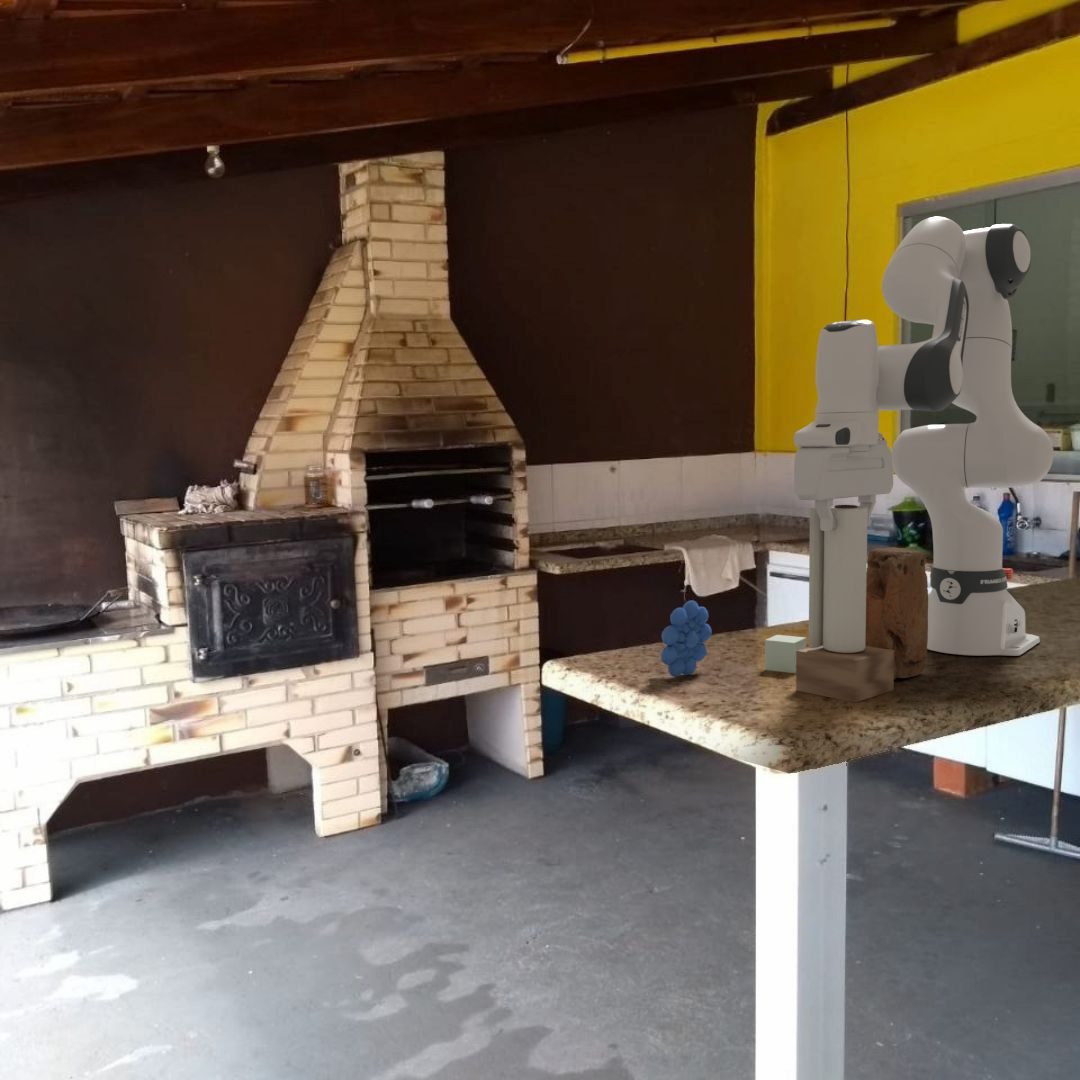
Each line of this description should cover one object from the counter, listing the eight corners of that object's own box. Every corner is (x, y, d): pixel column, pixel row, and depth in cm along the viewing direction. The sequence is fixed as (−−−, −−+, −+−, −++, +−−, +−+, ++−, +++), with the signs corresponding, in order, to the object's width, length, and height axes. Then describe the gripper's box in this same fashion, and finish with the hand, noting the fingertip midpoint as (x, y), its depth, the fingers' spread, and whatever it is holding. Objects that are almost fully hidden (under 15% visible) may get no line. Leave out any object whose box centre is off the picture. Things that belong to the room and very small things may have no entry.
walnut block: (835, 679, 163) (835, 641, 162) (893, 690, 155) (893, 650, 154) (796, 690, 156) (796, 650, 156) (855, 702, 149) (855, 660, 148)
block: (889, 666, 170) (890, 544, 168) (932, 674, 165) (934, 547, 163) (851, 677, 163) (852, 550, 161) (895, 686, 158) (897, 553, 156)
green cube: (776, 664, 174) (776, 634, 174) (806, 667, 172) (806, 637, 171) (765, 670, 170) (765, 640, 170) (794, 673, 167) (794, 642, 167)
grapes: (688, 665, 174) (687, 594, 173) (721, 671, 170) (720, 598, 168) (642, 677, 166) (641, 603, 165) (675, 684, 162) (675, 607, 160)
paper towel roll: (872, 648, 156) (874, 504, 153) (854, 656, 151) (856, 508, 148) (826, 642, 160) (828, 502, 158) (808, 649, 156) (809, 506, 153)
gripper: (867, 432, 161) (866, 522, 162) (786, 434, 148) (785, 532, 149) (904, 431, 156) (903, 524, 158) (824, 434, 143) (823, 535, 144)
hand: (845, 528), depth 153 cm, fingers open, 7 cm apart
